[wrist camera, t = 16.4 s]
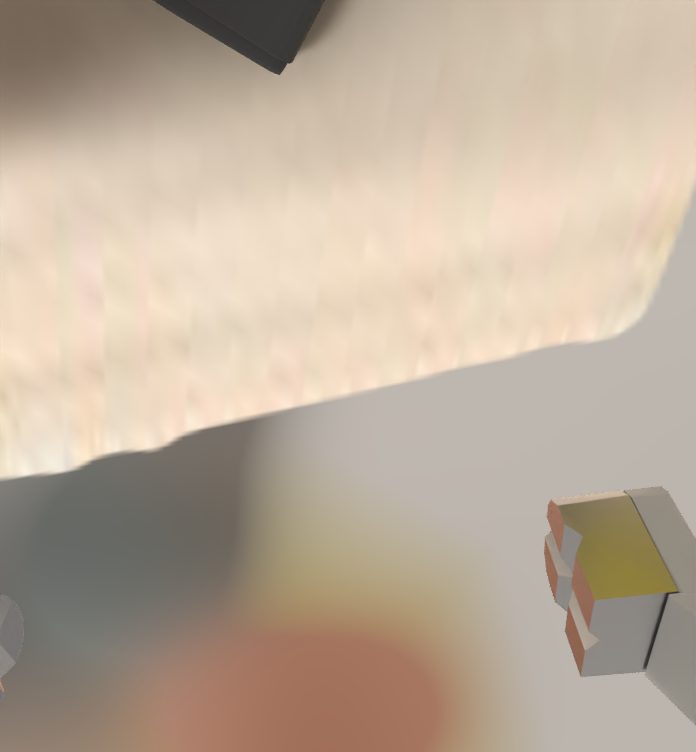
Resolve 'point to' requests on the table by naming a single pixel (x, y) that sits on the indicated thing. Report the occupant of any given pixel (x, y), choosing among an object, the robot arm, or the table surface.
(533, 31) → the table surface
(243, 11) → the card reader
